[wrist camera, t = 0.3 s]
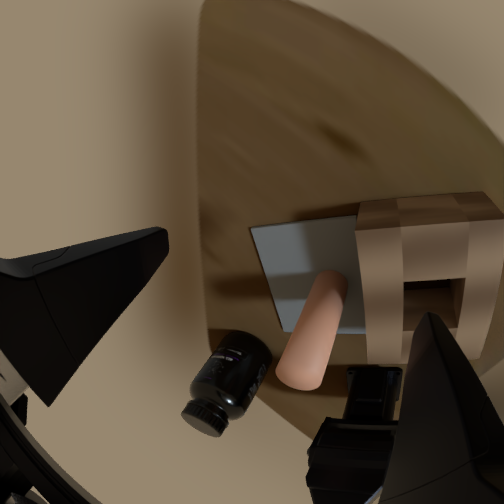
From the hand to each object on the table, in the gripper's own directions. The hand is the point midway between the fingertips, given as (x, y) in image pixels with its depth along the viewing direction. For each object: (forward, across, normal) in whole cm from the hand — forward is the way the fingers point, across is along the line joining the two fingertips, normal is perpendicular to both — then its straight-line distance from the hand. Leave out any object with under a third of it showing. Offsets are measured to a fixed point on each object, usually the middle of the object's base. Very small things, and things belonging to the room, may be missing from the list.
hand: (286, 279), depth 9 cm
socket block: (+14, -9, +5) cm, 17 cm away
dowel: (+14, -1, +10) cm, 17 cm away
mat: (+14, 0, +10) cm, 17 cm away
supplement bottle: (+14, +6, +23) cm, 28 cm away
